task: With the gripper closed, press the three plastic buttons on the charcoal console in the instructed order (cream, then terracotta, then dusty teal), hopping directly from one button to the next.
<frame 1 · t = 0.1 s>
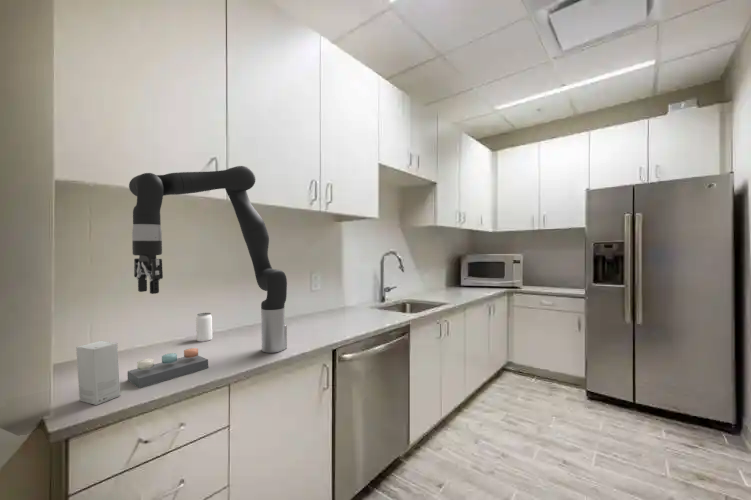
hand: (148, 292, 104), 29 cm above the table, tool pointing down, fingers open, 8 cm apart
terracotta button: (191, 352, 120), point 5 cm above the table, slide at 0.0 cm
teal button: (169, 358, 114), point 5 cm above the table, slide at 0.0 cm
can: (204, 340, 155), on the table
console: (169, 373, 114), on the table
skincare box: (98, 399, 96), on the table
cream button: (145, 364, 109), point 5 cm above the table, slide at 0.0 cm
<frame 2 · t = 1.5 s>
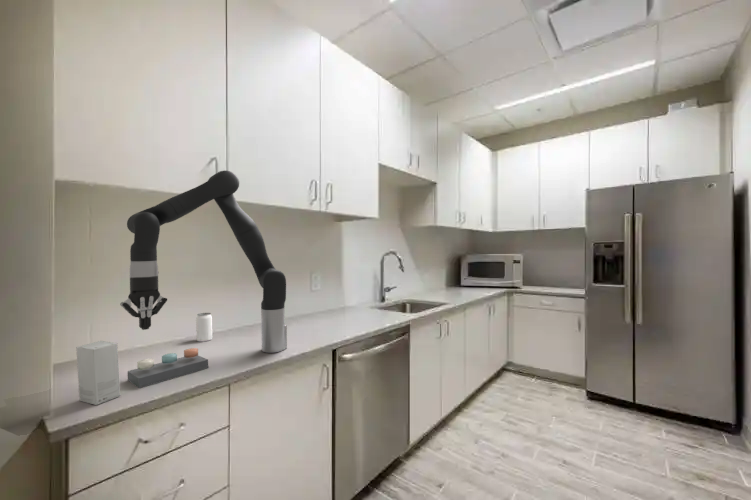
hand: (145, 329, 108), 17 cm above the table, tool pointing down, fingers closed
nothing on the table moved.
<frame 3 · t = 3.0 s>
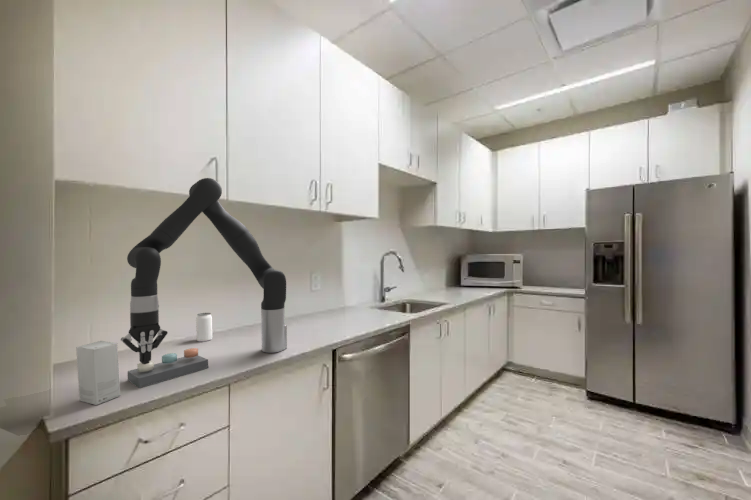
hand: (145, 363, 109), 6 cm above the table, tool pointing down, fingers closed
cream button: (145, 366, 109), point 5 cm above the table, slide at 0.7 cm, touching gripper
everything else where it was.
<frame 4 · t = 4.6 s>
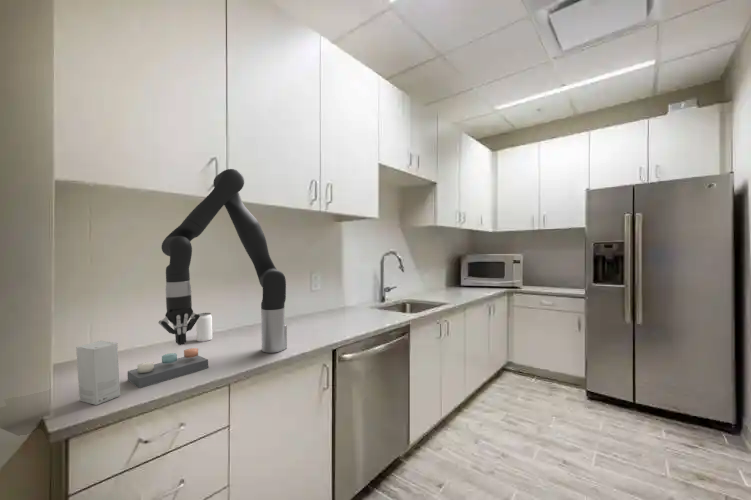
hand: (181, 344, 117), 9 cm above the table, tool pointing down, fingers closed
cream button: (145, 367, 109), point 4 cm above the table, slide at 1.1 cm
everything else where it was.
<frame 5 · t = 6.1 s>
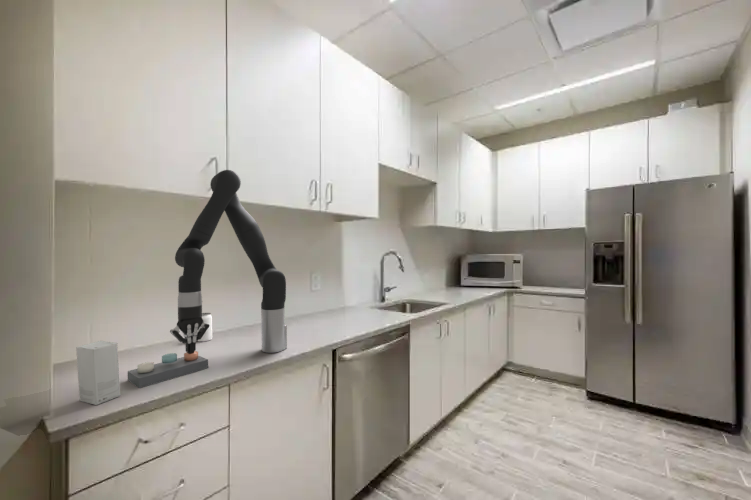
hand: (190, 353, 120), 5 cm above the table, tool pointing down, fingers closed
terracotta button: (191, 355, 120), point 4 cm above the table, slide at 1.1 cm, touching gripper
everything else where it was.
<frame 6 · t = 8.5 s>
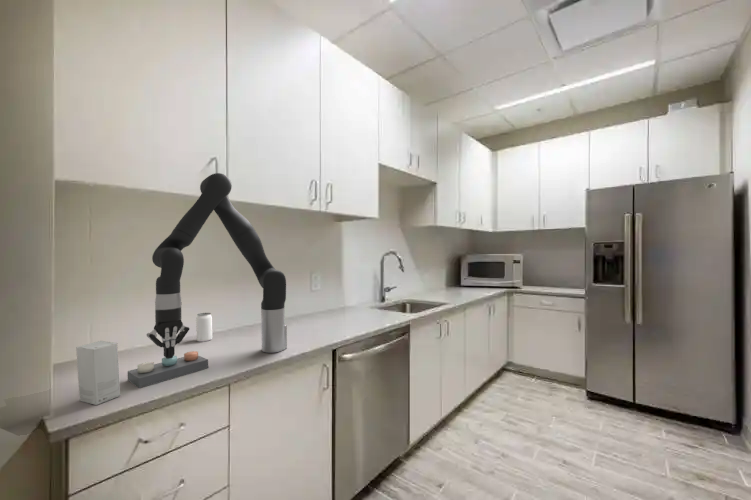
hand: (169, 357, 114), 5 cm above the table, tool pointing down, fingers closed
terracotta button: (191, 356, 120), point 4 cm above the table, slide at 1.1 cm
teal button: (169, 360, 114), point 4 cm above the table, slide at 0.8 cm, touching gripper
everything else where it was.
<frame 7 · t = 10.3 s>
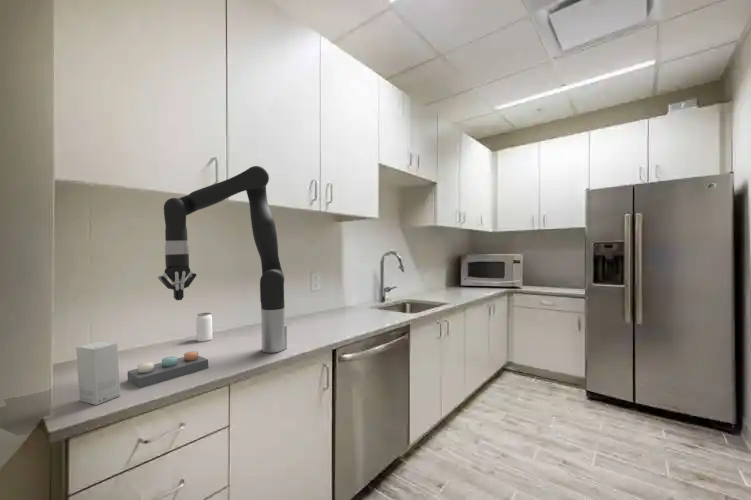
hand: (178, 299, 125), 23 cm above the table, tool pointing down, fingers closed
teal button: (169, 361, 114), point 4 cm above the table, slide at 1.1 cm
everything else where it was.
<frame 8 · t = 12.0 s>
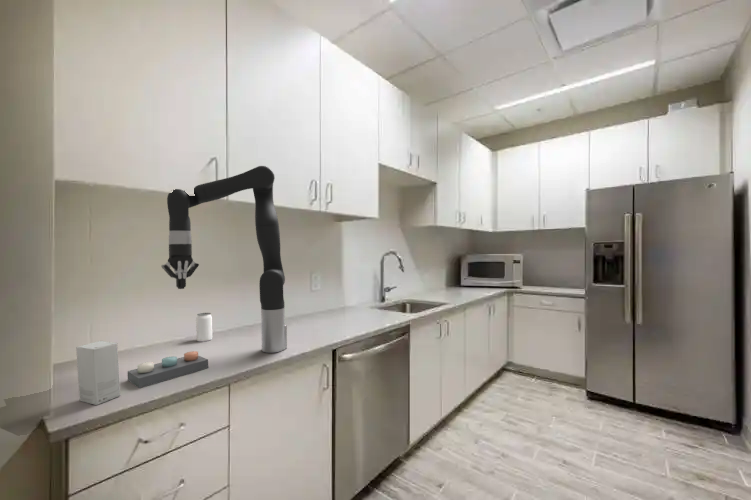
hand: (181, 288, 128), 27 cm above the table, tool pointing down, fingers closed
nothing on the table moved.
at the end: cream button slide at 1.1 cm; terracotta button slide at 1.1 cm; teal button slide at 1.1 cm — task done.
